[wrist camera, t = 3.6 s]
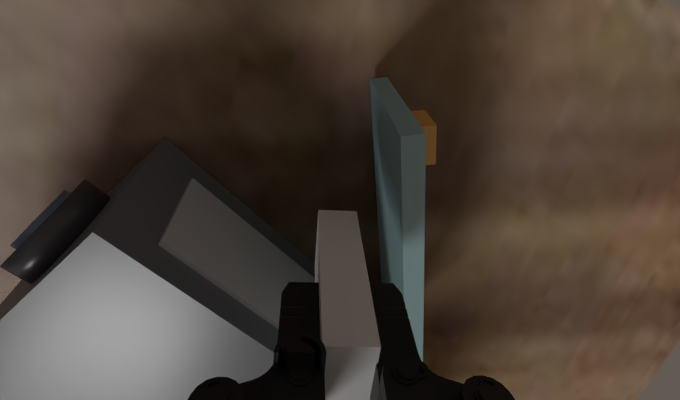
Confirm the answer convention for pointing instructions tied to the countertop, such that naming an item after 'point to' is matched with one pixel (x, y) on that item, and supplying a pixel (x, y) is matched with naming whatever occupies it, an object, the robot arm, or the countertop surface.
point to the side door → (402, 194)
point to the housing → (144, 289)
